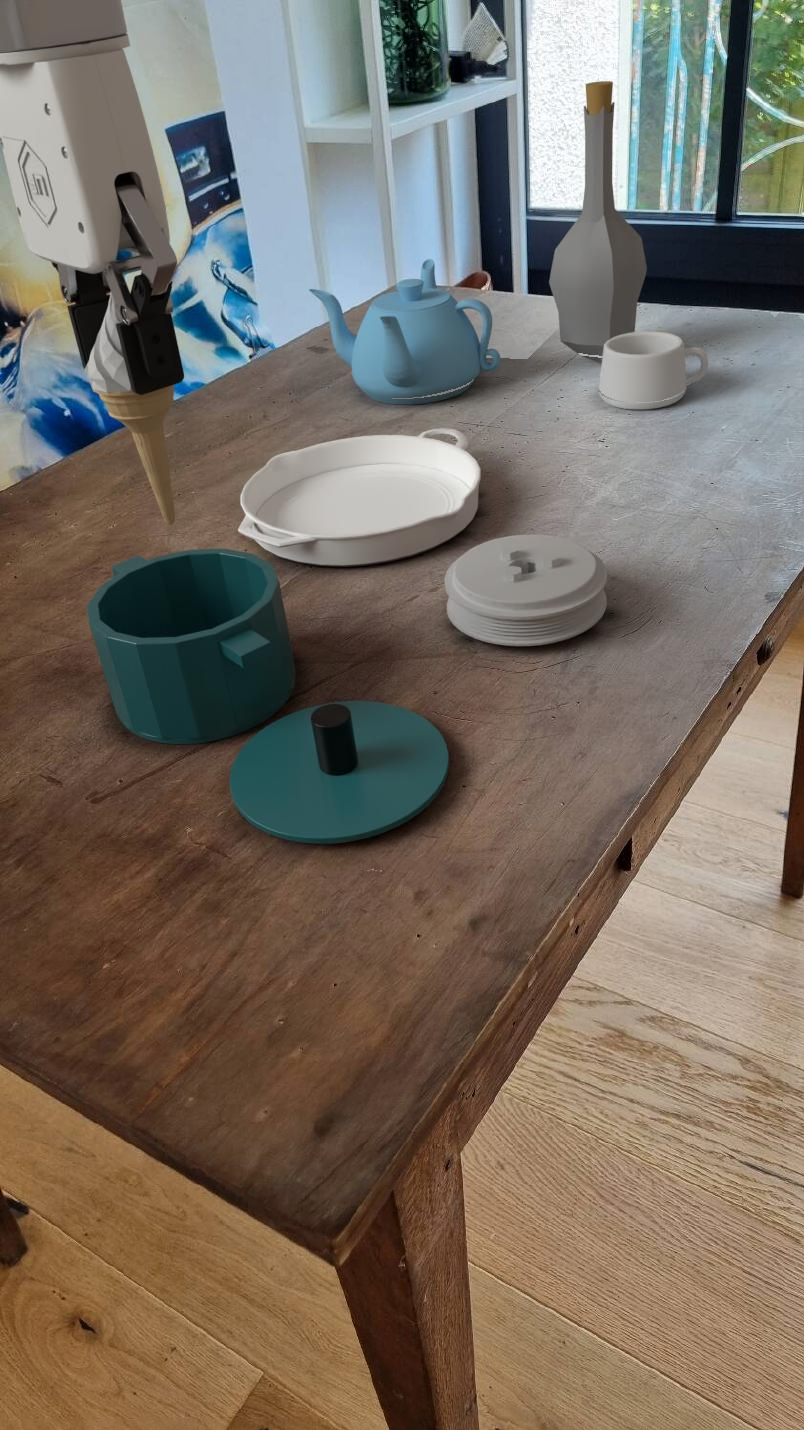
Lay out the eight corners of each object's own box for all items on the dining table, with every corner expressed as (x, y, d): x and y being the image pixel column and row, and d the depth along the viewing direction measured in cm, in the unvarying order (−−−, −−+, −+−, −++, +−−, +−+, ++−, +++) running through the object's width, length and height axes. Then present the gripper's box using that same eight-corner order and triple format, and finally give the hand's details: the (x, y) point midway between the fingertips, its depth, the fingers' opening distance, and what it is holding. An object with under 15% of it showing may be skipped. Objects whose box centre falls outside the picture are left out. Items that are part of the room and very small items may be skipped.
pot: (191, 786, 75) (163, 682, 70) (72, 679, 87) (41, 585, 83) (352, 702, 81) (336, 601, 76) (218, 613, 94) (198, 522, 89)
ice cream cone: (230, 518, 72) (180, 277, 63) (160, 552, 69) (98, 304, 60) (178, 499, 75) (124, 268, 66) (110, 530, 72) (44, 293, 63)
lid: (491, 565, 96) (488, 512, 93) (630, 591, 90) (631, 535, 87) (419, 637, 87) (413, 582, 85) (567, 670, 82) (566, 612, 79)
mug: (604, 415, 121) (604, 361, 118) (594, 385, 129) (594, 333, 126) (715, 406, 121) (719, 351, 117) (698, 376, 128) (701, 324, 125)
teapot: (317, 389, 138) (302, 288, 131) (437, 351, 146) (429, 252, 138) (394, 423, 126) (383, 313, 119) (521, 379, 134) (517, 273, 126)
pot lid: (314, 886, 66) (301, 821, 63) (192, 778, 75) (176, 717, 73) (495, 775, 73) (491, 711, 70) (361, 689, 82) (353, 630, 79)
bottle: (645, 375, 130) (654, 85, 113) (549, 379, 133) (543, 95, 115) (643, 345, 139) (651, 72, 122) (553, 349, 142) (549, 81, 124)
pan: (179, 538, 107) (170, 500, 104) (374, 442, 122) (370, 407, 119) (358, 609, 92) (352, 566, 90) (554, 490, 107) (553, 451, 105)
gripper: (-80, 35, 60) (19, 366, 70) (49, 31, 48) (144, 428, 59) (49, 17, 63) (125, 335, 74) (197, 9, 52) (263, 388, 62)
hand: (133, 373), depth 66 cm, fingers closed on ice cream cone, 5 cm apart
